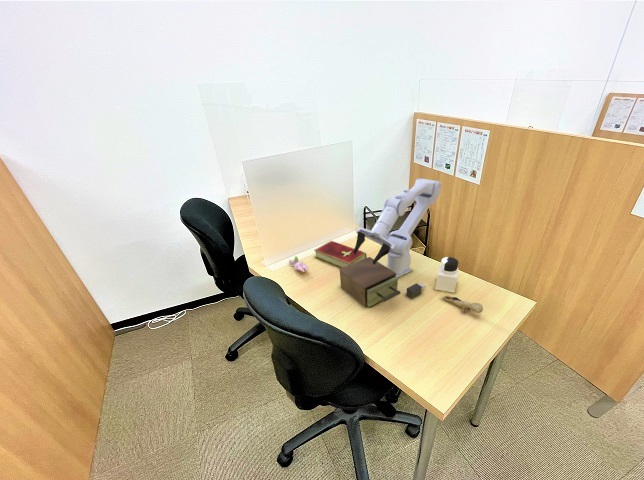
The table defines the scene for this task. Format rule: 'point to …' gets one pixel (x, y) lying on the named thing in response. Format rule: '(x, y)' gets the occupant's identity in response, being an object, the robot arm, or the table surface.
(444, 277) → the ball on square pedestal
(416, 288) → the black block with tip
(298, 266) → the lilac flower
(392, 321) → the table surface
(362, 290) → the cabinet
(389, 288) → the drawer
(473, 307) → the figurine
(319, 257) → the hardcover book
